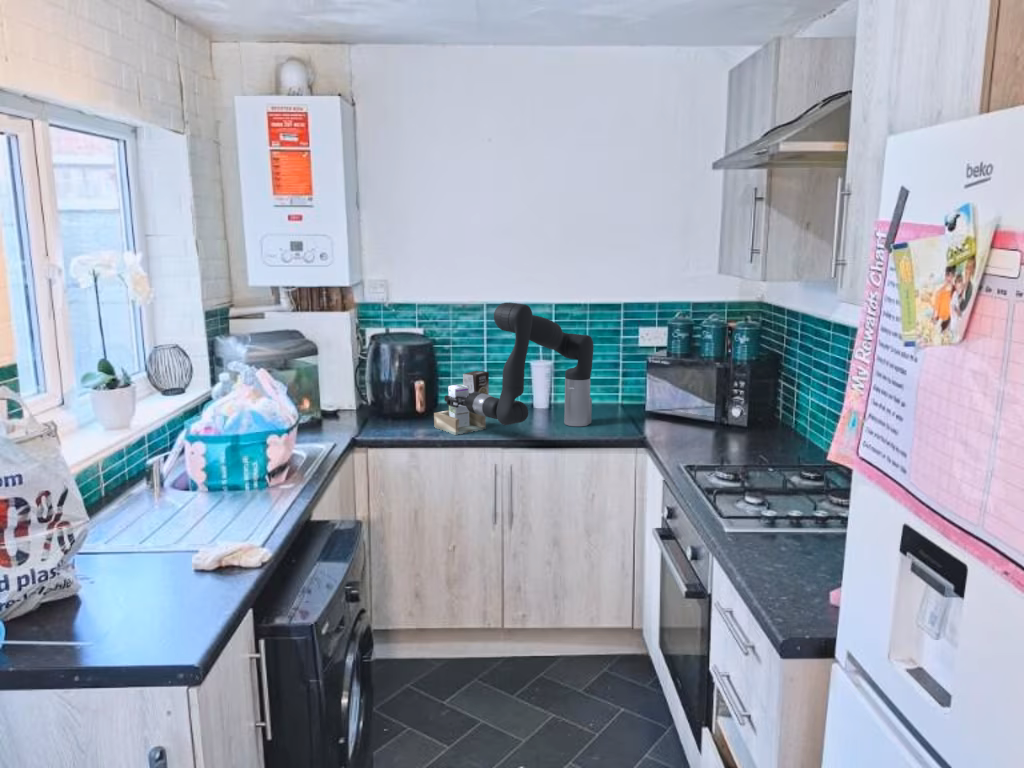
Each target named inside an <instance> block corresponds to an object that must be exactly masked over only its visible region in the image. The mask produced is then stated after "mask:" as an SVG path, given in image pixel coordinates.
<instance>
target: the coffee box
mask: <svg viewBox="0 0 1024 768" xmlns="http://www.w3.org/2000/svg"><path fill="white" fill-rule="evenodd" d="M489 373H490V372H489V371H484V370H482V371H480V370H473V371H469V372H466V373H462V385H464V386H467V387H469V393H473V392H480V393H484V394H487V395H490V394H489V393H490V392H489V391H490V390H489V389H490V388H489V387H490V386H489V383H490V382H489V377H490V375H489Z"/></svg>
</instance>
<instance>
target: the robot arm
mask: <svg viewBox="0 0 1024 768" xmlns="http://www.w3.org/2000/svg"><path fill="white" fill-rule="evenodd" d="M493 320H494V323H495V326H496V327H497V328H499V329H500V330H501V331H503V332H509V333H513V334H515V340H514V345H513V349H512V351H511V353H510V355H508V357H507V360H506V361H505V363H504V365H503V368H502V382H501V383H502V384H501V385H502V387H501V388H502V389H501V392H500V396H499V397H495V396H492V395H490V394H489V395H487V394H484V393H480V392H473V393H469V396H466V395H465V396H456V397H451V396H449V394H447V395H444V402H445V403H446V405H447V406H448V407H449V406H452V407H456V408H457V407H458V406H464V407H467V409H468V410H469V411H470V412H471V413H475V414H478V415H481V416H485V417H487V418H491V419H495V420H498V422H499V424H501V425H503V426H510V425H515V424H519V423H523V422H525V421H526V420H527V419H528V417H529V408H528V406H527V405H526V403H524V402H522V401H519V400H516V399H517V398H518V397H520V396H522V395H523V394H524V391H525V389H524V388H525V366H526V360H527V355H528V354H527V353H528V349H529V343H530V341H531V342H533V343H535V344H536V345H538V346H541V347H543V348H547V349H549V350H553V351H554V352H556V353H558V354H559V355H561V356H562V357H564V358H566V359H568V360H574V361H575V360H576V361H577V364H576V365H575V366H574V367H572V368H568V369H566V370H565V374H564V378H565V379H564V417H563V419H564V422H563V423H564V425H566V426H569V427H587V426H588V425H590V424H592V414H593V412H592V411H593V406H592V405H593V398H592V397H591V374H592V370H593V360H594V341H593V338H592V336H590V335H588V334H580V333H578V334H577V333H567V332H564V331H563V328H562V327H561V326H560V325H559V324H558V323H557V322H555V321H553V320H552V319H549V318H545V317H543V316H538V315H536V314H533V311H532V309H531V307H530V306H529V305H527V304H525V303H524V304H523V303H516V302H515V303H514V302H503V303H501V304H499V305H497V306H496V308H495V309H494V313H493ZM459 398H461V401H459Z"/></svg>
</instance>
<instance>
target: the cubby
mask: <svg viewBox="0 0 1024 768" xmlns="http://www.w3.org/2000/svg"><path fill="white" fill-rule="evenodd" d="M486 421H487V420H486V416H481V415H478V414H475V413H471V412H470V411H469V426H466V427H459V419H457V418H454V417H451V416H449V409H448V410H444V411H443V410H442V411H438V412H433V423H434V424H433V425H434V426H433V427H435V429H437V430H439V429H440V431H442V430H443V431H442V432H445V431H446V433H448V432H449V433H448V434H451V435H454V436H459V435H458V434H460V435H464V434H463V433H465V434H468V432H470V433H474V432H473V431H475V432H479V431H478V430H480V431H484V430H483V429H485V430H486V427H487V426H486Z"/></svg>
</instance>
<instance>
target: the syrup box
mask: <svg viewBox="0 0 1024 768" xmlns="http://www.w3.org/2000/svg"><path fill="white" fill-rule="evenodd" d="M465 395H466V396H469V387H467V386H464V385H463V384H452V385H448V396H451V397H456V396H465ZM459 401H461V398H459ZM448 410H449V416H451V417H454V418H457V419H459V427H466V426H469V410H468V409H467V407H464V406H458V407H457V408H456V407H452V406H449V405H448Z"/></svg>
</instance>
